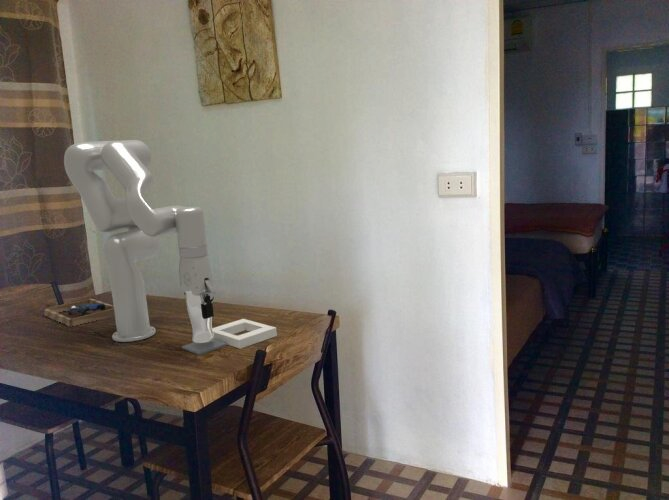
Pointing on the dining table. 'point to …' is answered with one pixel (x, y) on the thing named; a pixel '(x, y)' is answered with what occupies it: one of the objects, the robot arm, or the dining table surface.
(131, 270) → the robot arm
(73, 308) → the person figurine
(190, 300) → the beer glass
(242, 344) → the holder board
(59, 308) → the frame
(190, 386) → the dining table surface
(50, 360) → the dining table surface
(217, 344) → the coaster
